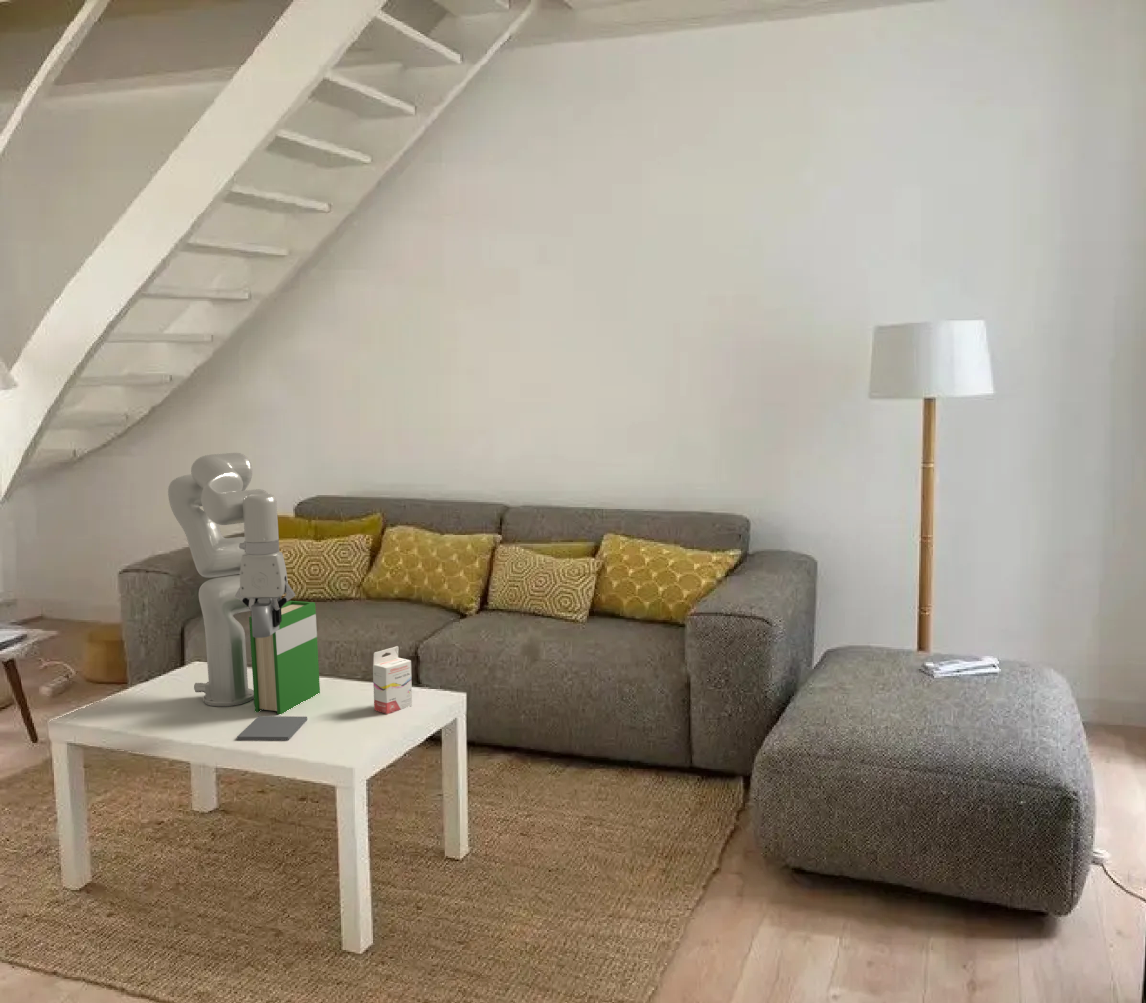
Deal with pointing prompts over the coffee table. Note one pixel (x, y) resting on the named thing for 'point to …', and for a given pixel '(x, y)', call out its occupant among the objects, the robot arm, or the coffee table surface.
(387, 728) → the coffee table surface
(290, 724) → the charcoal mat
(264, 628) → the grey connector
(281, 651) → the hardback book
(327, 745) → the coffee table surface
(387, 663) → the ink cartridge box
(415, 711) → the coffee table surface
